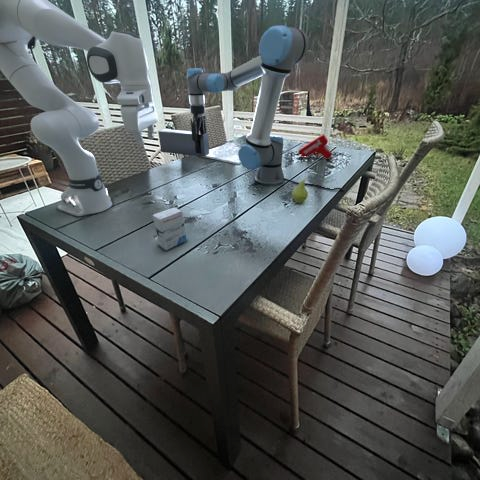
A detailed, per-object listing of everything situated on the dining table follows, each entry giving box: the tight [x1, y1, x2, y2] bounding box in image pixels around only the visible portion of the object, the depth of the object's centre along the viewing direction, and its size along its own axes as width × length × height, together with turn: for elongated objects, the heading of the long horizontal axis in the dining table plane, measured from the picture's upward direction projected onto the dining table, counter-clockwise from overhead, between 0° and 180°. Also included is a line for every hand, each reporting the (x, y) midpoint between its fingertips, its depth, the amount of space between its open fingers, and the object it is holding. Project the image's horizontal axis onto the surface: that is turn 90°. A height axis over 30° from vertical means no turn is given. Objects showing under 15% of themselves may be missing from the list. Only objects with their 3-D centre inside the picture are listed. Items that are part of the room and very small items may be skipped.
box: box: [157, 128, 210, 158], centre depth 149 cm, size 27×6×11 cm, turn 72°
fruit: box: [291, 174, 311, 204], centre depth 118 cm, size 7×8×12 cm
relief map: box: [201, 141, 242, 166], centre depth 184 cm, size 27×35×5 cm
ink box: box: [152, 206, 187, 251], centre depth 91 cm, size 8×5×12 cm, turn 135°
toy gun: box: [298, 133, 333, 161], centre depth 176 cm, size 18×4×15 cm
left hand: (146, 141), depth 92 cm, fingers open, 8 cm apart
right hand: (200, 151), depth 149 cm, fingers closed on box, 6 cm apart
